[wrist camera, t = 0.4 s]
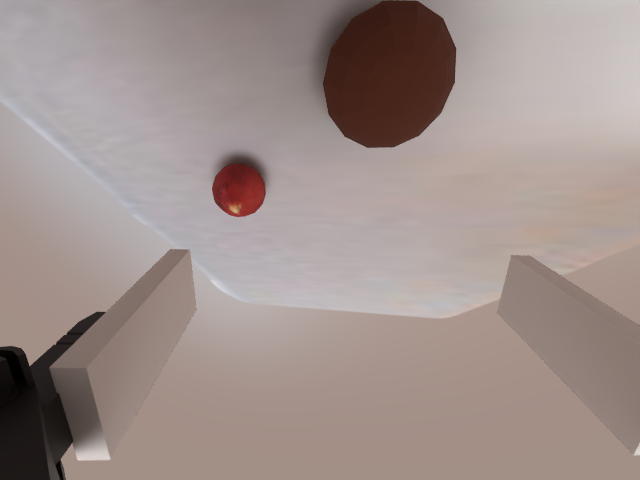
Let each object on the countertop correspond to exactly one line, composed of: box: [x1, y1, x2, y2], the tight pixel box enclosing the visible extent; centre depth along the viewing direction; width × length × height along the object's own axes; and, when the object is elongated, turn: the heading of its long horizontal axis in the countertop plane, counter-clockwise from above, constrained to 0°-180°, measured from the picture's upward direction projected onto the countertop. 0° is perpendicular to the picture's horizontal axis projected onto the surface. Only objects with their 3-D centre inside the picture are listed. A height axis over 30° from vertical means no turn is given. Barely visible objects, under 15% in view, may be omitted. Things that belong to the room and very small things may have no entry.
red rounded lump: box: [212, 164, 266, 217], centre depth 38 cm, size 6×6×8 cm
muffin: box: [323, 1, 456, 148], centre depth 30 cm, size 12×11×10 cm
